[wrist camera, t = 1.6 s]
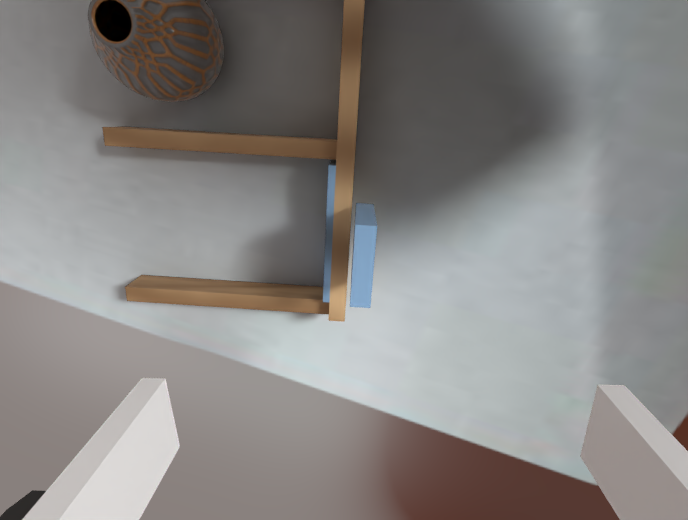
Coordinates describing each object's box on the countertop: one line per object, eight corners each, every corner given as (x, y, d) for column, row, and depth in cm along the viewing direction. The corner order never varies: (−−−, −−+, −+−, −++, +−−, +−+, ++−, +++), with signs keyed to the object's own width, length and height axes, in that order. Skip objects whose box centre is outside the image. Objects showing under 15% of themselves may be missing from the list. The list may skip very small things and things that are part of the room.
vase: (209, 123, 29) (149, 124, 21) (121, 67, 28) (21, 45, 20) (253, 32, 27) (206, -6, 19) (160, -32, 26) (67, -103, 18)
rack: (98, -69, 25) (59, -97, 22) (368, -55, 25) (369, -81, 22) (143, 288, 34) (119, 306, 30) (345, 301, 33) (344, 321, 30)
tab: (356, 203, 27) (355, 224, 22) (373, 204, 27) (377, 226, 22) (351, 270, 29) (349, 306, 24) (367, 271, 29) (370, 307, 23)
